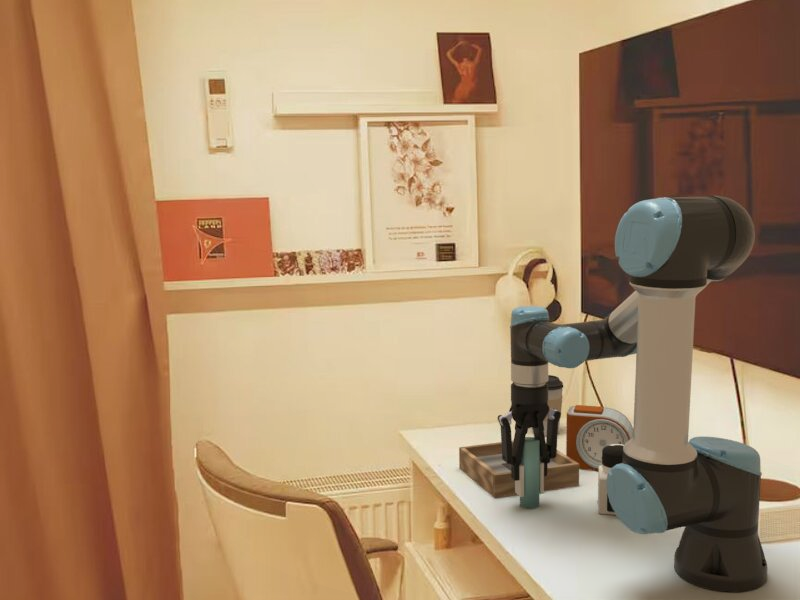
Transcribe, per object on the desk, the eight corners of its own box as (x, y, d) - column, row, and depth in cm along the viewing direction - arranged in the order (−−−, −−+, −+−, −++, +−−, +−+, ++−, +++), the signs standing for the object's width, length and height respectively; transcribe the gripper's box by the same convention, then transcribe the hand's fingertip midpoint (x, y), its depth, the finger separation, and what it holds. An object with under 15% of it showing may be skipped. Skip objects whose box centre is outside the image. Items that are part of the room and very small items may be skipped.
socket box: (579, 485, 198) (579, 463, 197) (495, 498, 192) (494, 475, 191) (537, 457, 217) (537, 437, 216) (459, 468, 211) (459, 447, 210)
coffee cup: (543, 425, 242) (544, 370, 240) (570, 432, 235) (570, 376, 233) (520, 432, 237) (520, 376, 234) (547, 440, 230) (547, 382, 227)
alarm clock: (564, 468, 209) (565, 411, 207) (570, 456, 217) (570, 401, 215) (630, 474, 204) (632, 416, 202) (633, 462, 212) (635, 406, 210)
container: (638, 516, 181) (639, 454, 179) (598, 514, 182) (599, 452, 180) (636, 502, 188) (637, 441, 186) (598, 500, 190) (598, 440, 188)
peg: (542, 507, 186) (543, 441, 184) (525, 509, 185) (525, 443, 183) (533, 500, 190) (534, 435, 188) (516, 502, 189) (516, 438, 187)
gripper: (557, 374, 190) (557, 481, 193) (483, 382, 185) (484, 492, 188) (575, 382, 183) (574, 493, 186) (499, 391, 177) (499, 505, 181)
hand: (529, 492), depth 187 cm, fingers closed on peg, 4 cm apart
